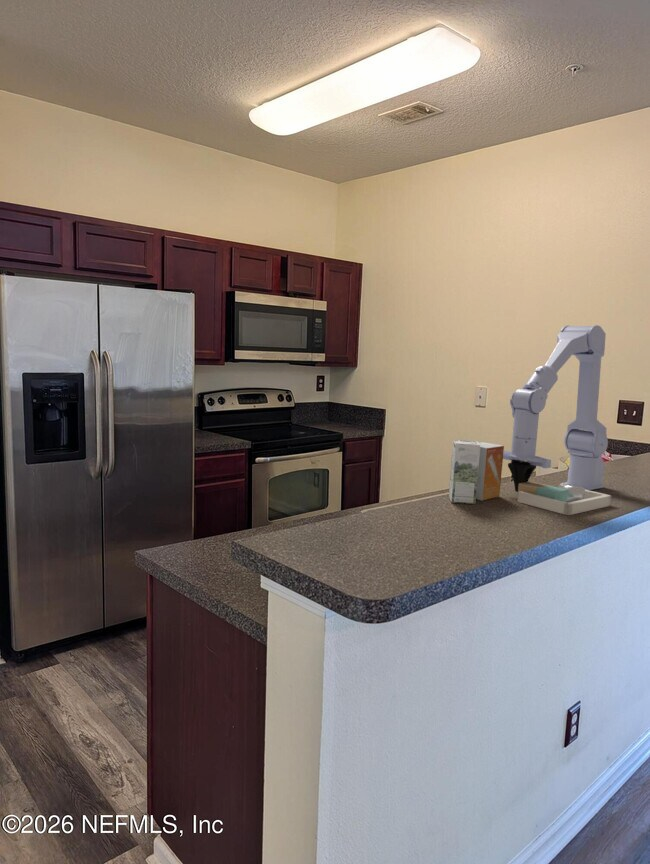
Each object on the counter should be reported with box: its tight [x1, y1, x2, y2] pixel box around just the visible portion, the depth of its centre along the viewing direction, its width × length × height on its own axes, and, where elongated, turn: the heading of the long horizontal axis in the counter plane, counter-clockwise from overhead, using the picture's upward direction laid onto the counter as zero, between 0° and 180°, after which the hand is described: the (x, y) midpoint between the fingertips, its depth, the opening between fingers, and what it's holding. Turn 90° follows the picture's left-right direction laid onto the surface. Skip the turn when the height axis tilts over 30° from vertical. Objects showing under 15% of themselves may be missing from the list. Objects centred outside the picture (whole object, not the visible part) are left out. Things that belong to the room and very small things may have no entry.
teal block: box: [536, 485, 568, 502], centre depth 145 cm, size 5×5×4 cm
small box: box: [476, 441, 505, 501], centre depth 150 cm, size 8×6×13 cm
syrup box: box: [448, 439, 480, 505], centre depth 144 cm, size 6×6×14 cm
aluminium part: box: [563, 484, 585, 503], centre depth 149 cm, size 5×5×4 cm
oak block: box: [516, 481, 550, 500], centre depth 149 cm, size 5×5×4 cm
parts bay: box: [517, 483, 612, 516], centre depth 147 cm, size 18×13×2 cm
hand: (519, 491), depth 152 cm, fingers closed
